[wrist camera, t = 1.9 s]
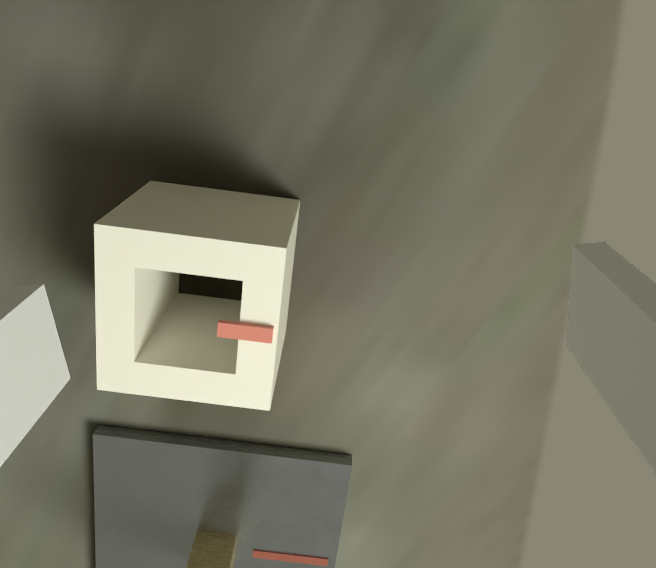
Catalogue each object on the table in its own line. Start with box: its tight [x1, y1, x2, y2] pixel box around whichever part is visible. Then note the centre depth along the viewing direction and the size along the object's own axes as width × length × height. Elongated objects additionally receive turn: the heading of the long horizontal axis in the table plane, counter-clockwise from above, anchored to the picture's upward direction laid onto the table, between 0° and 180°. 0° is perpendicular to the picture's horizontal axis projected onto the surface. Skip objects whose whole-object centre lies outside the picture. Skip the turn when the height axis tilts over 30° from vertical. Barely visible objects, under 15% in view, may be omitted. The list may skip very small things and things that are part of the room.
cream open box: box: [94, 181, 300, 411], centre depth 31 cm, size 8×8×8 cm
